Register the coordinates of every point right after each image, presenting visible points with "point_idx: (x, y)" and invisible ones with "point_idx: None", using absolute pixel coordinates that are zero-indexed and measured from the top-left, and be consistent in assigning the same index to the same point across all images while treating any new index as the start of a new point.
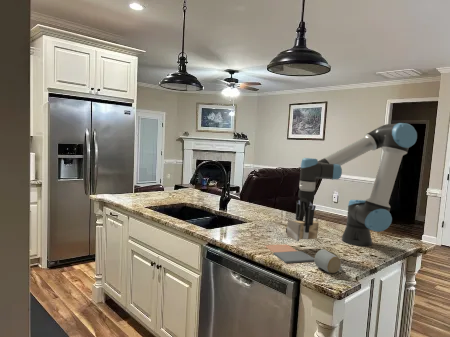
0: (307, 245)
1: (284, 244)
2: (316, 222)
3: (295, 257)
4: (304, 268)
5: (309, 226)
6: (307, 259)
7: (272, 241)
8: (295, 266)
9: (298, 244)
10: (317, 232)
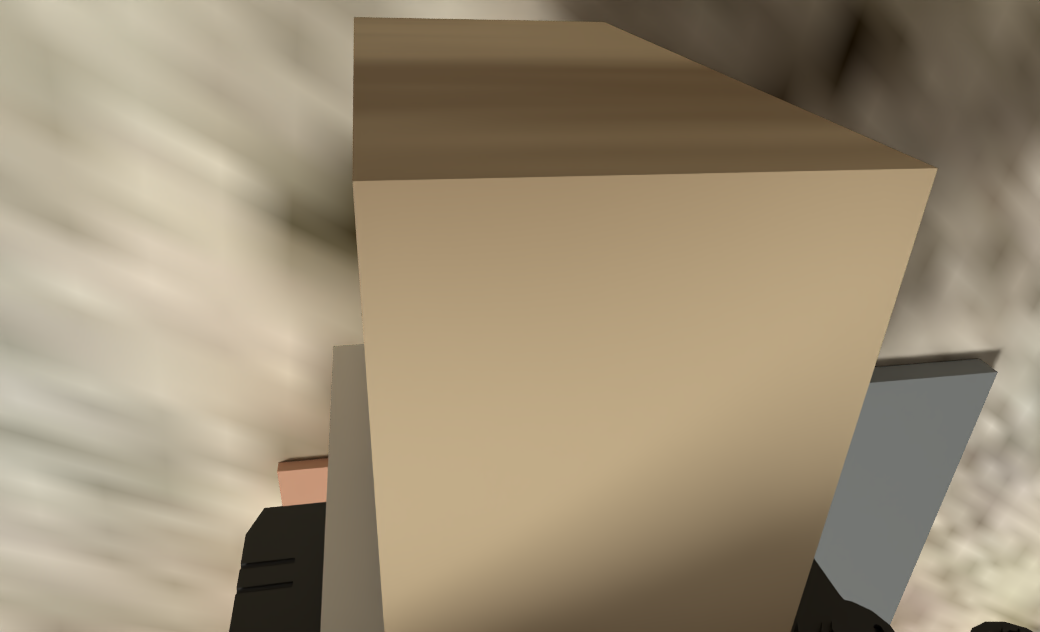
0: (313, 66)
1: (283, 502)
2: (832, 271)
3: (834, 563)
4: (1030, 549)
5: (849, 607)
6: (944, 469)
7: (69, 598)
8: (955, 601)
9: (238, 236)
10: (676, 58)
